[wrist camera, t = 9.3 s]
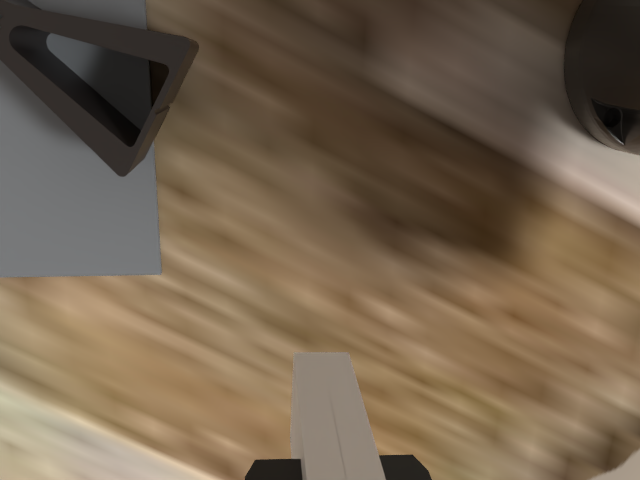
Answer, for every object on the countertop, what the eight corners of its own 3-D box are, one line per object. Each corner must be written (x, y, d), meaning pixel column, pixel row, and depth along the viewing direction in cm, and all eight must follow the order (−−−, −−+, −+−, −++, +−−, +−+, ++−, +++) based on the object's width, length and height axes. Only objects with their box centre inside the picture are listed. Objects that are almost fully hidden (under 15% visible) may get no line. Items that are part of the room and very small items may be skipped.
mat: (142, -52, 35) (141, -54, 35) (161, 272, 42) (160, 274, 41) (-63, -64, 33) (-66, -66, 33) (-9, 275, 40) (-11, 277, 40)
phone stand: (201, 44, 37) (21, -61, 34) (192, 41, 31) (-25, -85, 28) (143, 161, 39) (-32, 72, 36) (124, 179, 33) (-86, 75, 30)
